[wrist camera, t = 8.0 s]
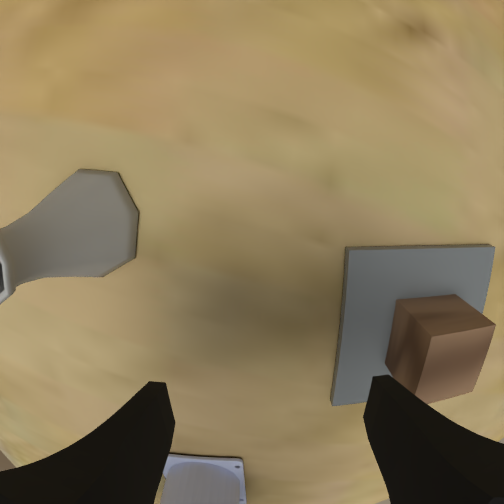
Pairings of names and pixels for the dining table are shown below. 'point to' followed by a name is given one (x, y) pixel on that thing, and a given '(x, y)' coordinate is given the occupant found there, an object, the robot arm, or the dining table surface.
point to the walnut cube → (437, 346)
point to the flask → (71, 232)
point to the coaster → (384, 300)
